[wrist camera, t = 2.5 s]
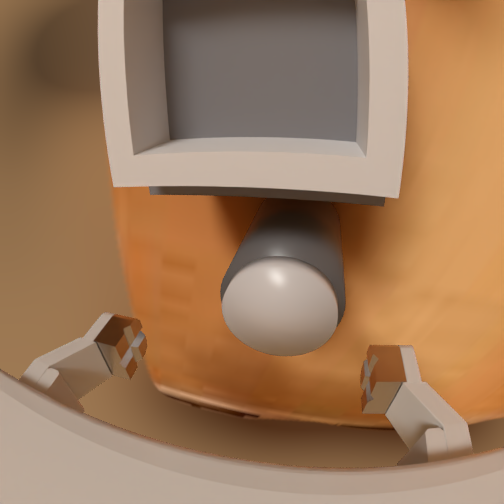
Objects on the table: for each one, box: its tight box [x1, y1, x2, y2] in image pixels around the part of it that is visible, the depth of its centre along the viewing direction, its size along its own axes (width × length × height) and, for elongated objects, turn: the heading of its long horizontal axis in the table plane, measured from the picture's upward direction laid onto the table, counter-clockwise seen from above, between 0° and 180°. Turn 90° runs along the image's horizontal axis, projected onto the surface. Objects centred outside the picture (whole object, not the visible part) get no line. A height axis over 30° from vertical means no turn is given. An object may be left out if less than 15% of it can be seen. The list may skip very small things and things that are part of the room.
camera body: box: [98, 0, 408, 206], centre depth 10 cm, size 9×11×8 cm
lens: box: [220, 198, 345, 356], centre depth 15 cm, size 5×5×8 cm
